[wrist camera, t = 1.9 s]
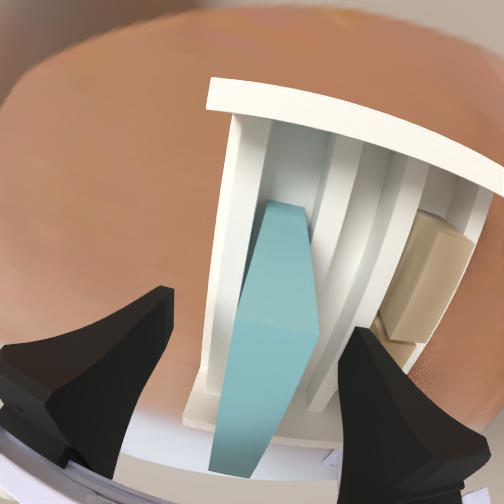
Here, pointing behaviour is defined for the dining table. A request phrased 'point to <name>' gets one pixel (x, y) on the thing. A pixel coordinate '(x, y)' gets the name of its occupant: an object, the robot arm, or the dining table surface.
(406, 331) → the offcut
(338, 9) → the dining table surface
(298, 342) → the teal square slab
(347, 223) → the rack
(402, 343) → the offcut
